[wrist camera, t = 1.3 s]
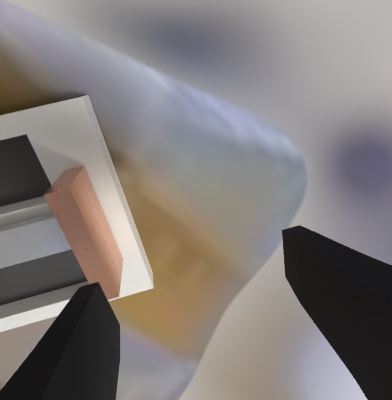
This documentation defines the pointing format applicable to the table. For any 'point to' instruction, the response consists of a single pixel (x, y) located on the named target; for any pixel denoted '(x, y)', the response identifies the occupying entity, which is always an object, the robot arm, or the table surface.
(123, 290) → the pit board
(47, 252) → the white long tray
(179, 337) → the table surface
